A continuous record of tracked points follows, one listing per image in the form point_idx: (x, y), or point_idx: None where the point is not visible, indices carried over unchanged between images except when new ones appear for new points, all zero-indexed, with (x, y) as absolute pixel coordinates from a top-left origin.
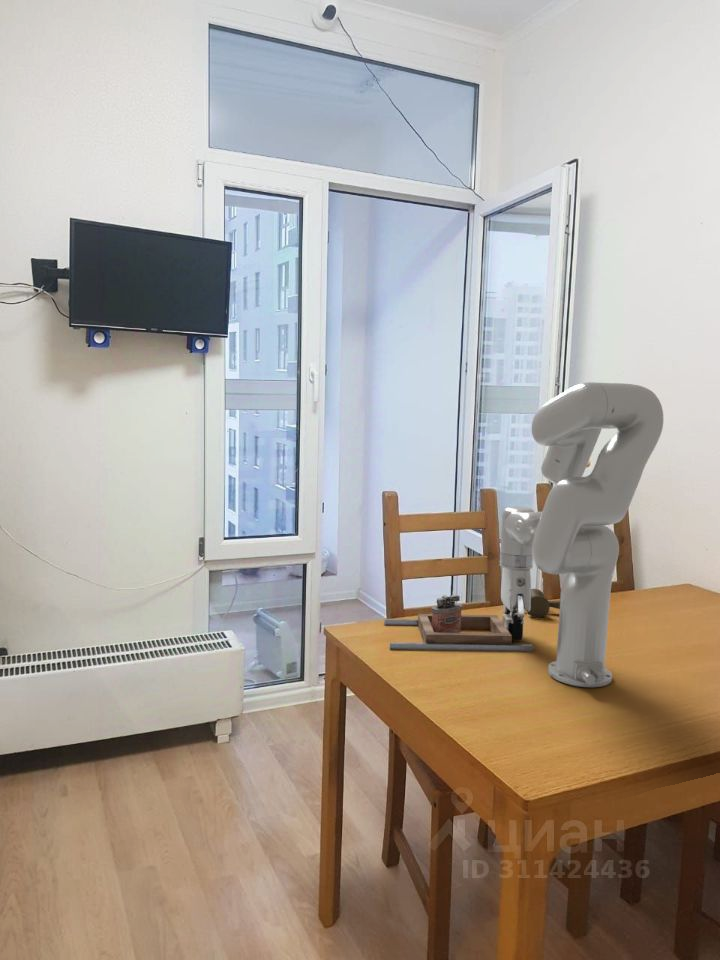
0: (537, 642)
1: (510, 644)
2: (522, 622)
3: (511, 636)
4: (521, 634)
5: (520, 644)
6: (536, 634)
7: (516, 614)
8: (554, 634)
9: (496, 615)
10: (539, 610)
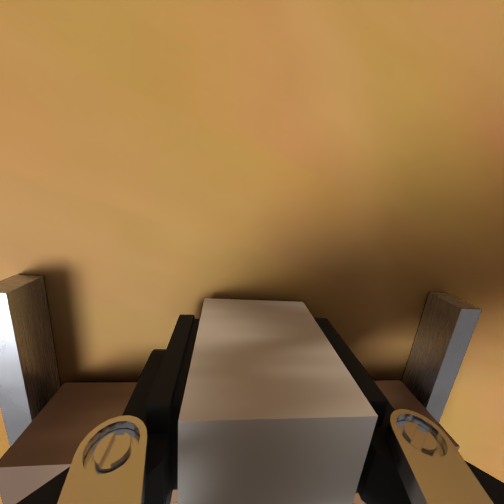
0: (316, 215)
1: (430, 409)
2: (441, 436)
3: (455, 444)
4: (340, 340)
5: (443, 366)
6: (167, 163)
7: (179, 447)
8: (159, 2)
9: (4, 470)
10: None
